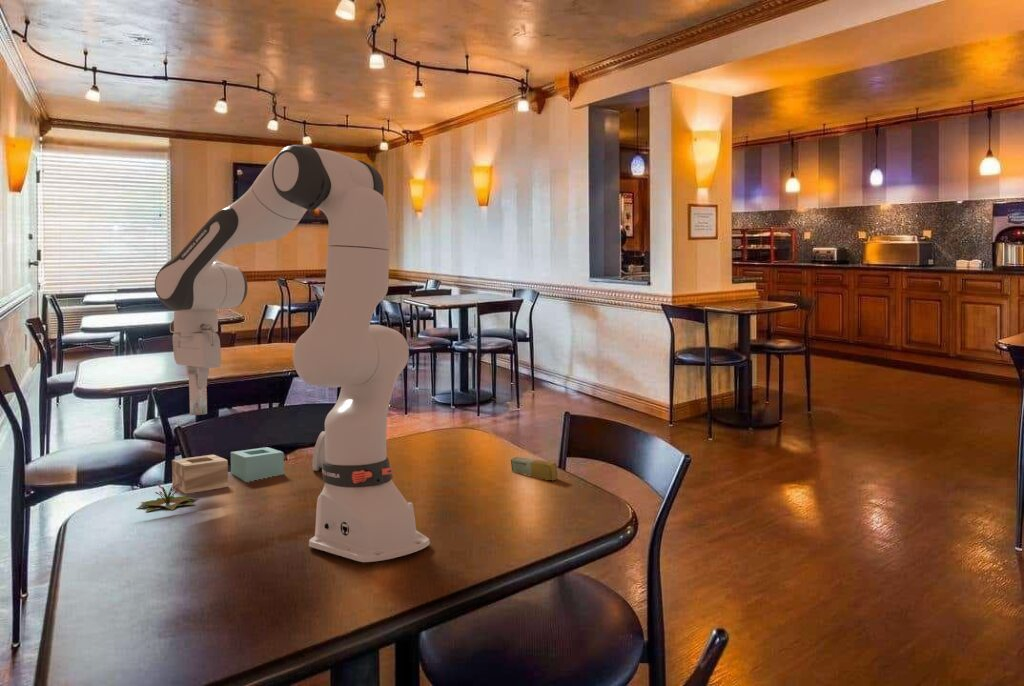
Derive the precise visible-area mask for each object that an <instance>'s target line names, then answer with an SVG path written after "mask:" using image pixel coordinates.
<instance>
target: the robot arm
mask: <svg viewBox="0 0 1024 686" xmlns="http://www.w3.org/2000/svg"><path fill="white" fill-rule="evenodd" d="M251 184H252V185H251V186H250V187H249V188H248V189H247V191H245V193H244V194H242V195H241V196H240V197H239V198H238V199H236V200H235V201H234V202H233V203H231V204H229V205H228V206H227V207H223V208H222V209H220V210H218V211H217V212H216V213H215V214H213V215H212V217H210V218H209V219H208V220H207V221H206V222H205V224H204V225H203V226H202V227H201V228H200V229H199V230H198V231H197V232H196V234H194V236H193V237H191V239H190V240H189V242H188V243H187V244H186V245H185V246H184V247H183V248H182V250H181V251H180V252H179V253H177V255H176V256H175V257H174V258H173V257H172V258H171V259H170V260H168V261H167V262H166V263H165V264H163V266H162V267H161V268H160V270H158V272H157V274H156V277H155V279H154V291H155V293H156V296H157V297H158V299H159V300H160V302H161V303H162V304H163V305H165V306H166V307H167V308H168V309H170V310H172V311H173V319H172V321H171V322H170V324H169V332H170V333H173V334H172V347H173V348H172V350H173V358H174V361H175V364H176V365H179V366H186V369H185V370H186V373H187V377H188V378H189V374H193V373H198V379H196V383H197V384H196V385H197V387H199V388H203V387H208V376H209V374H210V368H211V369H213V368H220V367H221V363H222V349H221V340H220V336H219V334H218V332H219V315H218V310H231V309H234V308H238V307H239V306H240V305H242V304H243V302H244V301H245V300H246V298H247V295H248V281H247V278H246V275H245V273H244V272H243V271H242V270H241V268H239V267H238V266H233V265H230V264H227V263H224V262H222V261H220V260H218V259H219V258H220V256H221V255H222V254H223V253H225V252H227V251H228V250H230V249H231V250H232V249H234V248H235V247H236V248H237V247H240V246H244V245H251V244H256V243H264V242H265V243H267V242H272V241H273V242H274V241H278V240H280V239H283V238H284V237H286V236H287V235H288V234H289V233H291V231H293V230H294V229H295V228H296V226H298V224H299V223H300V221H301V219H302V218H303V217H304V215H305V214H306V212H308V211H309V212H314V211H315V210H320V211H321V212H322V213H323V214H324V215H325V216H326V218H327V221H328V235H327V236H328V237H327V249H326V250H327V252H326V269H325V270H326V272H325V284H324V291H323V294H322V298H321V300H320V304H319V307H318V310H317V313H316V315H315V317H314V319H313V321H312V323H311V324H310V325H309V327H308V328H307V329H306V330H305V331H304V333H302V334H301V335H300V336H298V339H297V340H296V342H295V344H294V347H293V351H292V362H293V363H292V364H293V367H294V370H295V371H296V373H297V375H298V376H299V378H300V379H301V380H302V381H303V382H305V383H307V384H308V385H311V386H316V387H321V388H329V389H330V388H332V389H334V388H340V391H339V396H338V399H336V403H335V405H334V406H333V407H332V409H330V411H329V412H328V413H327V415H326V416H325V419H324V431H325V461H324V462H323V468H321V471H322V472H321V474H322V481H323V482H324V485H323V488H322V491H321V492H320V494H319V495H318V497H317V498H316V499H317V500H316V511H315V513H316V514H315V530H314V536H313V537H311V538H310V539H309V540H308V547H310V548H313V549H316V550H318V551H319V550H320V551H324V552H326V553H329V554H333V555H335V556H341V557H343V558H346V559H349V560H353V561H356V562H361V563H371V562H372V563H373V562H379V561H387V560H391V559H395V558H398V557H403V556H407V555H411V554H412V553H415V552H418V551H421V550H423V549H425V548H426V547H428V546H429V545H430V544H431V543H430V539H429V537H427V536H426V535H425V534H423V533H421V532H419V531H418V530H417V527H416V525H417V524H416V518H415V508H414V504H413V502H409V501H407V499H406V498H405V497H404V496H403V494H402V493H401V491H400V490H399V488H398V487H397V486H396V485H395V483H394V481H393V480H392V479H393V478H394V477H393V474H395V472H394V471H392V470H394V469H395V467H393V466H392V464H391V463H390V460H389V457H388V456H387V423H388V421H387V420H388V412H389V407H390V402H391V399H392V395H393V391H394V388H395V385H396V383H397V379H398V378H399V376H400V374H401V373H402V372H403V370H404V369H405V368H406V366H407V364H408V361H409V357H410V350H409V345H408V342H407V339H406V338H405V336H404V335H403V334H402V333H401V332H399V331H398V330H396V329H393V328H391V327H388V326H385V325H381V324H371V321H372V318H373V315H374V312H375V310H376V308H377V306H378V305H379V304H380V302H382V300H383V299H384V298H385V297H386V296H387V294H388V291H389V275H390V274H389V273H390V272H389V271H390V266H389V265H390V251H391V249H390V246H391V234H390V233H391V231H390V219H389V210H388V204H387V202H386V199H385V198H384V189H385V186H384V181H383V177H382V176H381V173H380V172H379V171H378V169H376V168H375V167H374V166H372V165H371V164H369V163H367V162H365V161H362V160H357V159H355V158H352V157H349V156H347V155H344V154H341V153H339V152H336V151H335V150H334V151H333V150H330V149H324V148H318V147H312V146H310V145H306V144H292V145H287V146H285V147H283V148H282V149H281V150H280V151H279V152H278V154H276V155H275V156H274V157H273V158H272V159H271V160H270V161H269V162H268V163H267V165H266V166H265V167H264V168H262V171H261V172H260V173H259V174H258V176H257V177H256V179H255V180H254V181H253V183H251Z"/></svg>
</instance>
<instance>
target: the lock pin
mask: <svg viewBox="0 0 1024 686" xmlns="http://www.w3.org/2000/svg"><path fill="white" fill-rule="evenodd" d="M196 379H198V372H197V373H193V374H189V377H188V384H189V385H188V388H189V389H188V391H189V392H188V393H189V415H190V416H202V415H207V414H208V392H207V391H208V390H207V387H208V386H207V387H203V388H199V387H197V385H196V384H197V383H196Z"/></svg>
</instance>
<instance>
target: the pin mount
mask: <svg viewBox="0 0 1024 686" xmlns="http://www.w3.org/2000/svg"><path fill="white" fill-rule="evenodd" d="M228 464H229V461H228V459H226V458H224V457H221V456H219V455H216V454H207V455H206V454H205V455H201V456H200V455H199V456H193V457H185V458H177V459H171V468H172V469H171V470H172V471H171V472H172V473H171V475H172V482H171V483H172V485H173V483H175V484H174V485H175V486H176V485H177V484H179V485H178V486H176V487H175V488H174V489H176V488H177V490H178V491H180V492H182V493H183V494H186V495H188V494H193V493H199V492H206V491H211V490H214V489H215V490H216V489H222V488H223V489H224V488H227V487H229V469H228V468H229V465H228ZM174 485H173V486H174ZM173 486H172V487H173Z"/></svg>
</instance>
